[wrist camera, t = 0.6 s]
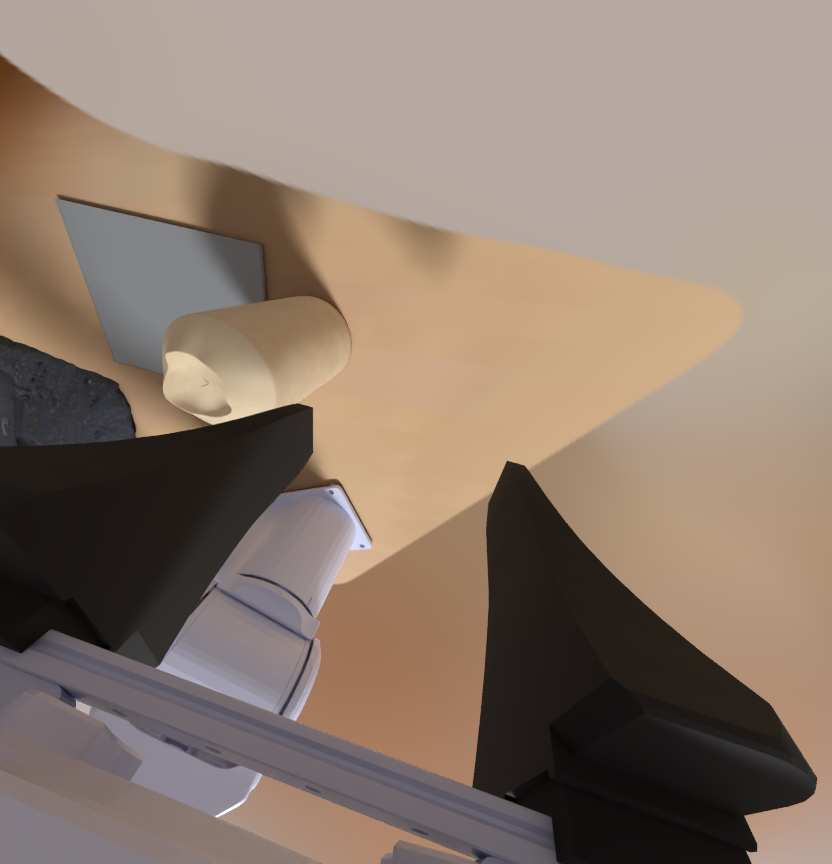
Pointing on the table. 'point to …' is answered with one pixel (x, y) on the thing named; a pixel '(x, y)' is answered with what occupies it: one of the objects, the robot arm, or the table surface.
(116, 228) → the slate mat
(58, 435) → the dark slate chunk
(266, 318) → the candle
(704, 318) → the table surface
